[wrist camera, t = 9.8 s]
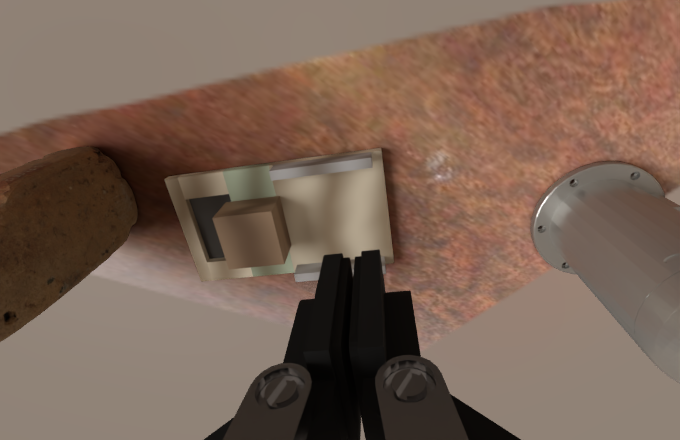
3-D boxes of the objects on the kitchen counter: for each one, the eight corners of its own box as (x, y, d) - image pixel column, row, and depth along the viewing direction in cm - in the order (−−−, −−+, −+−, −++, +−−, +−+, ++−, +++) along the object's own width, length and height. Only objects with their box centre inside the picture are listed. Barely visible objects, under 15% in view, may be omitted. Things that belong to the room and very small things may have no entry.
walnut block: (279, 195, 41) (271, 211, 38) (291, 245, 44) (284, 264, 40) (225, 202, 42) (212, 218, 38) (240, 250, 44) (228, 269, 41)
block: (148, 232, 45) (2, 362, 27) (87, 233, 46) (-94, 360, 28) (121, 140, 41) (-76, 223, 23) (54, 142, 42) (-188, 225, 23)
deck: (381, 147, 39) (381, 156, 37) (393, 258, 45) (395, 272, 42) (168, 176, 42) (154, 186, 40) (204, 276, 48) (194, 291, 45)
